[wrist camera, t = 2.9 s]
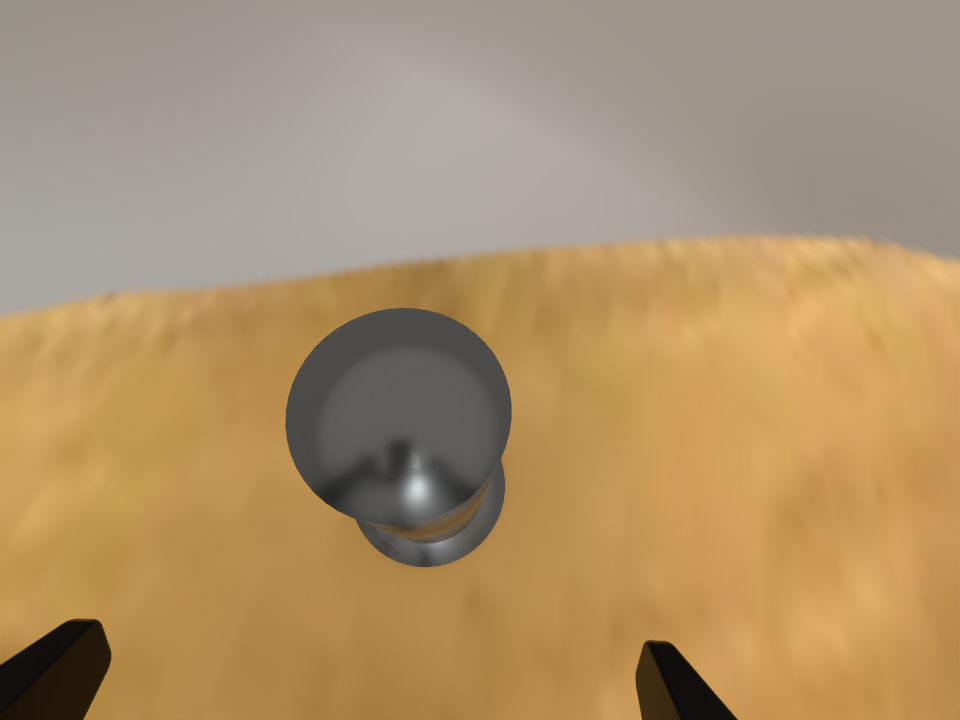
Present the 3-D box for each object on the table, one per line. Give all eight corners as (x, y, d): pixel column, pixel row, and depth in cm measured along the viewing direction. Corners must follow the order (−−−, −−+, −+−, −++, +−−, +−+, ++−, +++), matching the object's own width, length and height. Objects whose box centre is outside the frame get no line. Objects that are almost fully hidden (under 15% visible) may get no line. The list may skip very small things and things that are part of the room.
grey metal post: (533, 481, 20) (611, 400, 10) (430, 603, 18) (396, 654, 8) (428, 386, 22) (402, 228, 11) (321, 490, 20) (177, 415, 10)
